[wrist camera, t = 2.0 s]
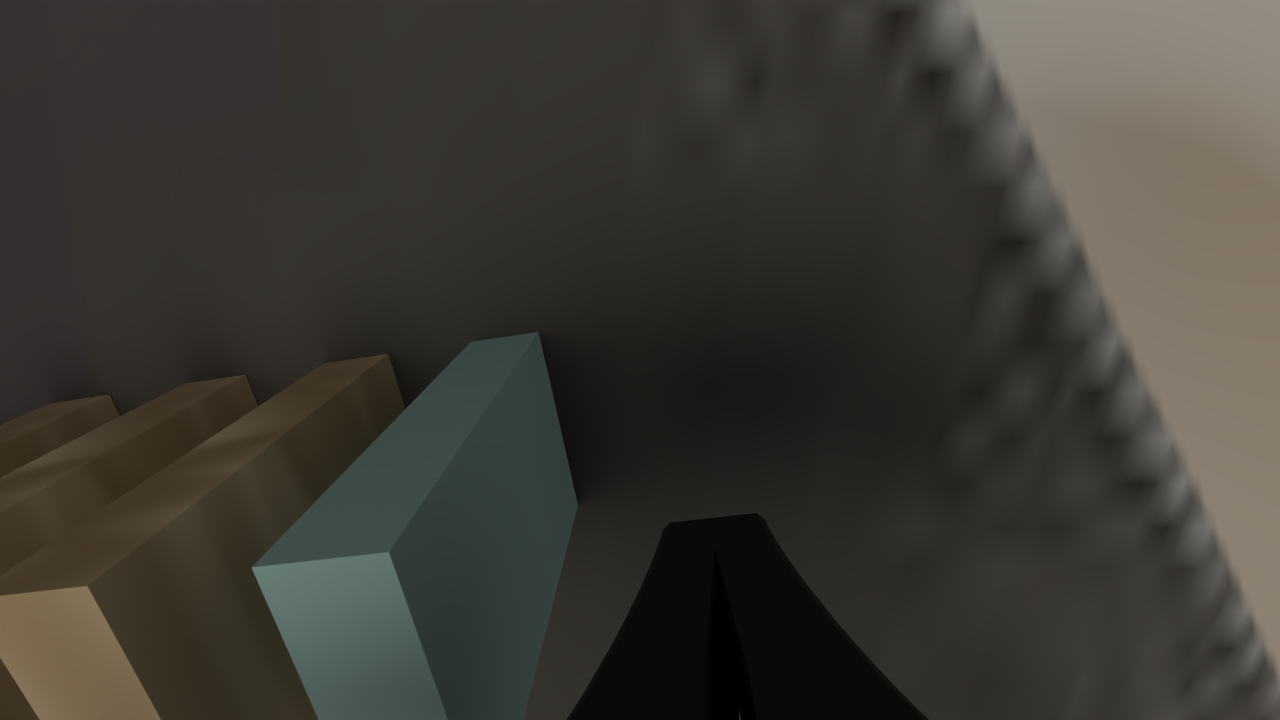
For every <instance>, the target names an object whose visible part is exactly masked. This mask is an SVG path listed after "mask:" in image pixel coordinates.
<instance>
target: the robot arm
mask: <svg viewBox="0 0 1280 720" xmlns="http://www.w3.org/2000/svg"><path fill="white" fill-rule="evenodd" d="M738 707H739V708H738ZM739 712H740V716H741V720H929V719H928V718H927V717H925V716H924V715H923V714H922V713H921V712H920V711H919V710H918V709H917V708H916V707H915V706H914V705H913V704H912V703H911V702H910V701H909V700H908V699H907V698H906V697H905V696H904V695H903V694H902V693H901V692H900V691H899V690H898V689H897V688H896V687H895V686H894V685H893V684H892V683H891V682H890V680H889V679H888V678H887V677H886V676H885V675H884V674H883V673H882V672H881V671H880V670H879V669H878V668H877V667H876V666H875V665H874V663H873V662H872V661H871V660H870V659H869V658H868V657H867V656H866V655H865V654H864V652H863V651H862V650H861V649H860V648H859V647H858V646H857V645H856V644H855V643H854V642H853V640H852V639H851V638H850V637H849V636H848V635H847V633H846V632H845V631H844V630H843V629H842V628H841V626H840V625H839V624H838V623H837V622H836V621H835V619H834V618H833V617H832V616H831V614H830V613H829V612H828V611H827V609H826V608H825V607H824V606H823V604H822V603H821V602H820V601H819V599H818V598H817V597H816V596H815V594H814V593H813V592H812V591H811V589H810V588H809V587H808V586H807V584H806V583H805V582H804V580H803V579H802V578H801V576H800V575H799V573H798V572H797V571H796V569H795V568H794V566H793V565H792V564H791V562H790V561H789V559H788V558H787V556H786V555H785V553H784V552H783V550H782V549H781V547H780V546H779V544H778V542H777V541H776V539H775V538H774V536H773V534H772V532H771V530H770V529H769V527H768V525H767V523H766V520H765V519H764V518H762V517H761V516H760V515H758V514H757V513H753V514H744V515H735V516H726V517H717V518H708V519H700V520H691V521H682V522H673V523H669V524H668V525H667V526H666V528H665V529H664V530H663V532H662V535H661V538H660V541H659V544H658V547H657V550H656V553H655V555H654V558H653V560H652V563H651V565H650V568H649V570H648V572H647V574H646V577H645V579H644V581H643V584H642V586H641V588H640V590H639V592H638V594H637V596H636V598H635V600H634V602H633V604H632V606H631V608H630V610H629V612H628V615H627V617H626V619H625V621H624V623H623V625H622V627H621V629H620V631H619V632H618V634H617V636H616V638H615V640H614V642H613V644H612V645H611V647H610V649H609V650H608V652H607V654H606V656H605V657H604V659H603V661H602V663H601V664H600V666H599V668H598V669H597V671H596V673H595V675H594V676H593V678H592V680H591V682H590V683H589V685H588V687H587V689H586V690H585V692H584V693H583V695H582V697H581V698H580V700H579V701H578V703H577V705H576V706H575V708H574V709H573V711H572V712H571V714H570V716H569V717H568V719H567V720H739Z"/></svg>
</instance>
